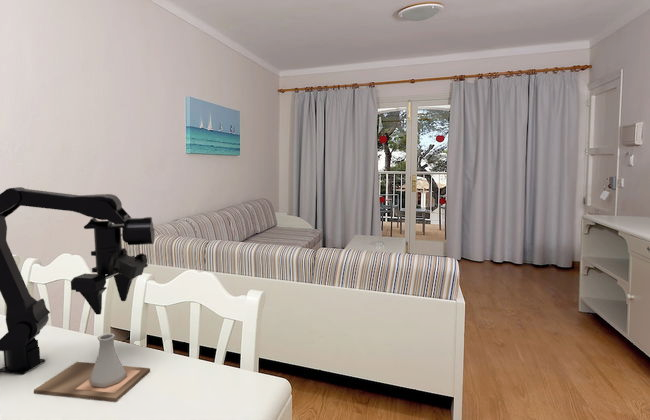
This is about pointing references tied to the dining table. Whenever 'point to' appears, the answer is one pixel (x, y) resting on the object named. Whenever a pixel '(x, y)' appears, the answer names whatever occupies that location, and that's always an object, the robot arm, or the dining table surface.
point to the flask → (107, 364)
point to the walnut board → (78, 384)
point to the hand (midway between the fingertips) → (111, 307)
